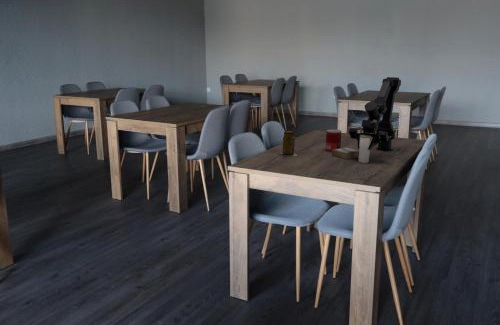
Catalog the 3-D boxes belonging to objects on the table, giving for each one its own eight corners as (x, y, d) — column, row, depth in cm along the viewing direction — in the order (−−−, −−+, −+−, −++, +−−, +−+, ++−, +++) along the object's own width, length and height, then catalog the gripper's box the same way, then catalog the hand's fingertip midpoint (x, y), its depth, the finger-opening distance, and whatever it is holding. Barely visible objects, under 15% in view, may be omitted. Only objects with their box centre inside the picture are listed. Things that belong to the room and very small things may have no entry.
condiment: (291, 152, 244) (292, 130, 241) (298, 155, 236) (299, 132, 233) (279, 153, 242) (279, 130, 239) (285, 156, 234) (286, 133, 231)
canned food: (340, 152, 245) (341, 132, 242) (325, 151, 247) (326, 131, 244) (340, 149, 252) (341, 129, 250) (325, 148, 254) (326, 129, 251)
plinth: (345, 153, 243) (345, 147, 242) (359, 156, 235) (360, 150, 234) (331, 155, 237) (332, 149, 237) (346, 159, 230) (346, 153, 229)
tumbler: (364, 159, 229) (366, 134, 226) (371, 162, 224) (373, 136, 221) (355, 160, 227) (357, 134, 223) (362, 163, 222) (364, 136, 219)
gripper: (351, 111, 228) (341, 137, 221) (388, 114, 218) (379, 141, 212) (355, 125, 236) (346, 150, 230) (392, 129, 226) (383, 155, 220)
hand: (363, 148), depth 223 cm, fingers closed on tumbler, 5 cm apart
